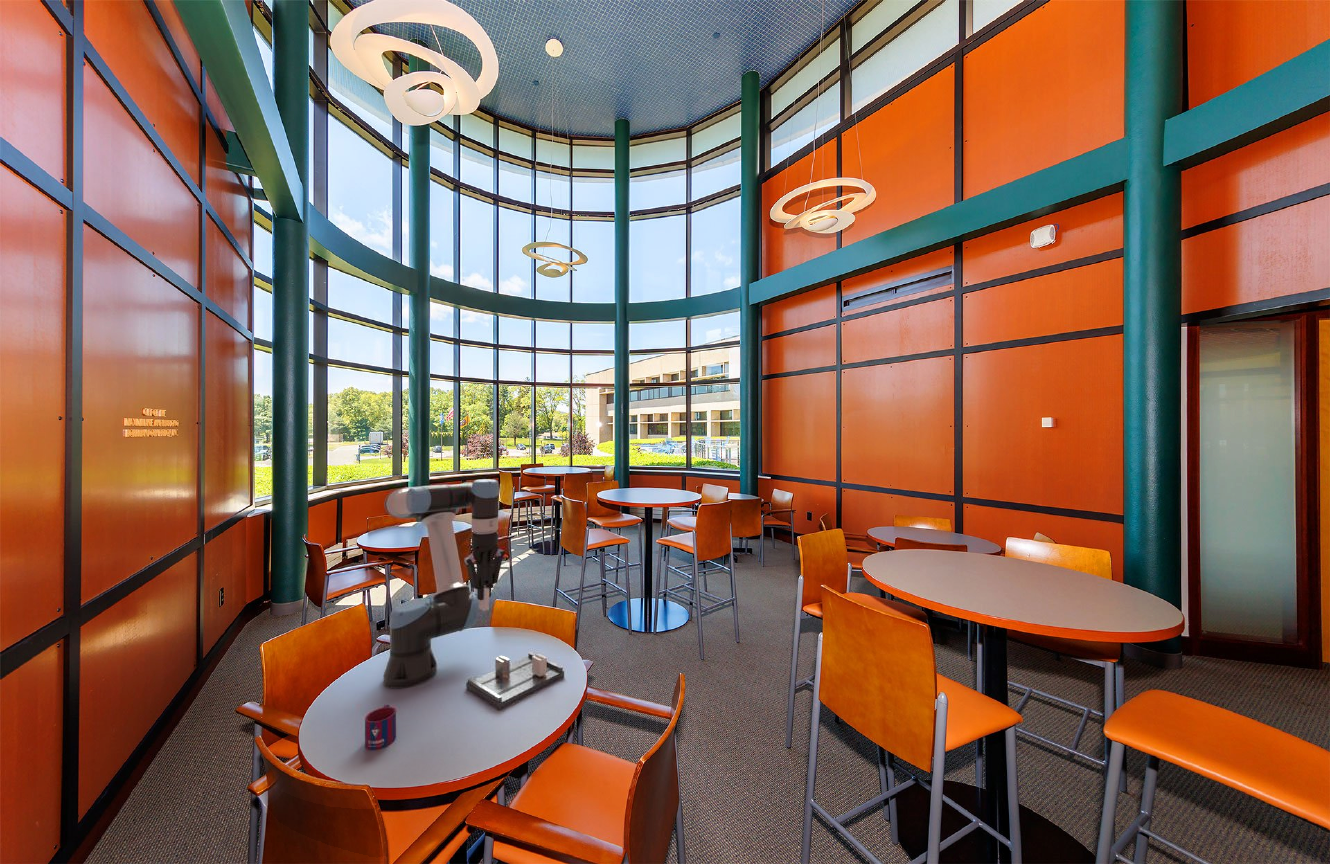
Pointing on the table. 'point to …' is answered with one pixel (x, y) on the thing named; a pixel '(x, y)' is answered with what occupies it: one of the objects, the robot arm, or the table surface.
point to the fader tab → (539, 665)
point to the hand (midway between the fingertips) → (484, 609)
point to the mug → (380, 728)
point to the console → (512, 681)
